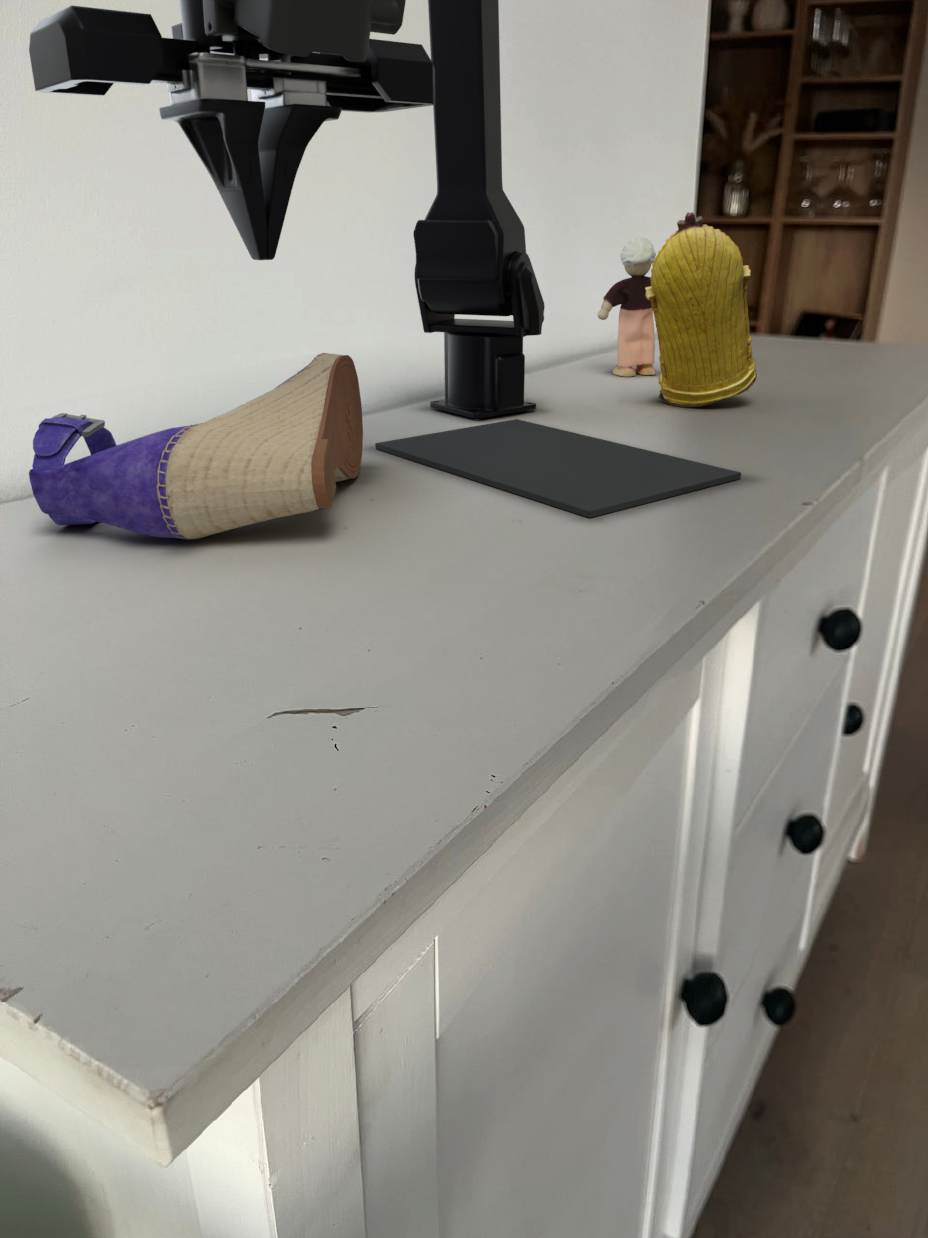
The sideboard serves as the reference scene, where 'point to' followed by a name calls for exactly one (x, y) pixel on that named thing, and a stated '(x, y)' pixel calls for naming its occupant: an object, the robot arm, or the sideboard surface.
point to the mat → (559, 466)
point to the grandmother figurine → (633, 311)
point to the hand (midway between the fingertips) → (263, 259)
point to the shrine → (701, 316)
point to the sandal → (210, 461)
